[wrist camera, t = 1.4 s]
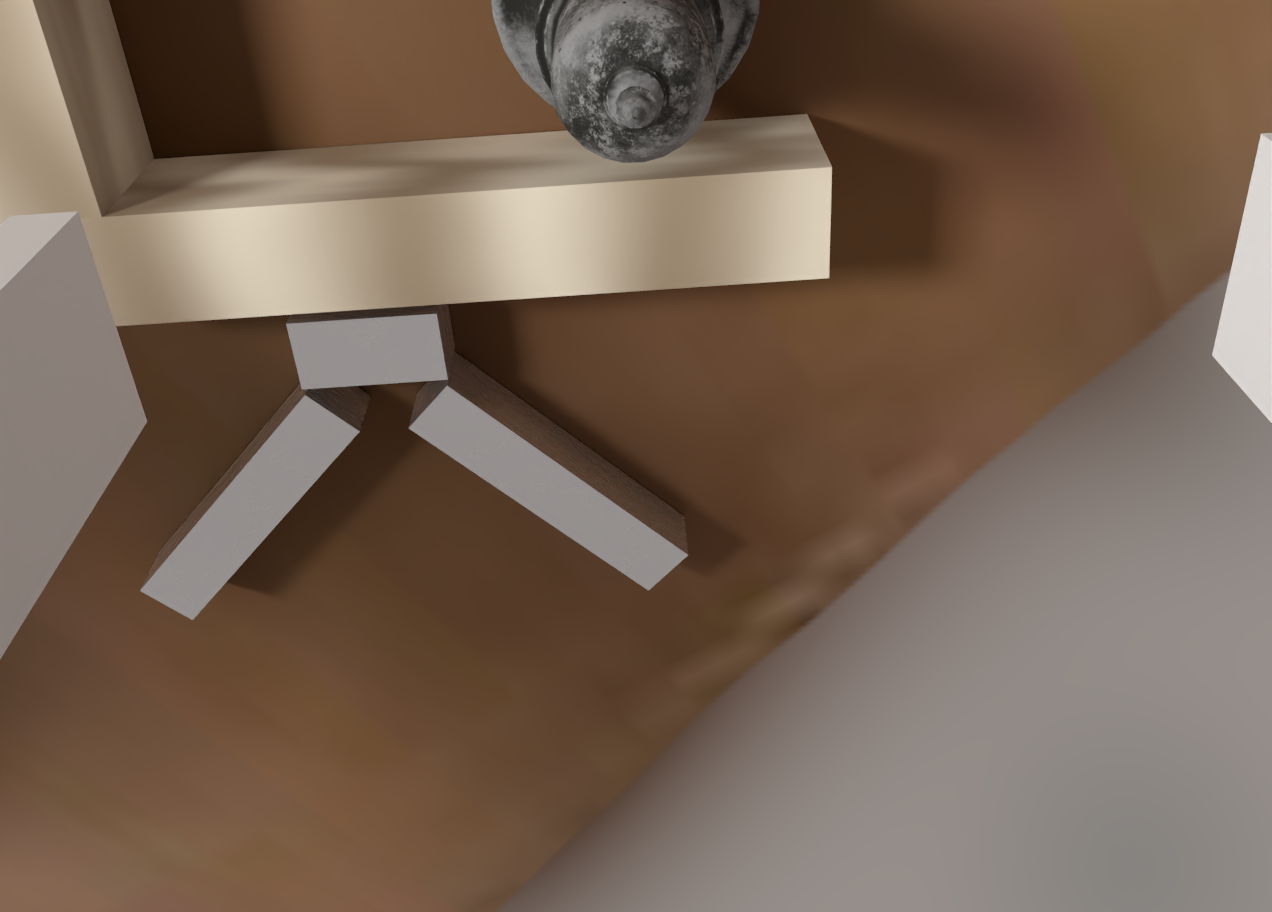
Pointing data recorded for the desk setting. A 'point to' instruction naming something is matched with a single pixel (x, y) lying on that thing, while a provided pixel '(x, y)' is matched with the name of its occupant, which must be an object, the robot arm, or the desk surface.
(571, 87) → the grey tall rounded piece
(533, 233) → the bracket
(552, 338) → the desk surface
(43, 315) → the robot arm
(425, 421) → the v block
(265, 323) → the desk surface
